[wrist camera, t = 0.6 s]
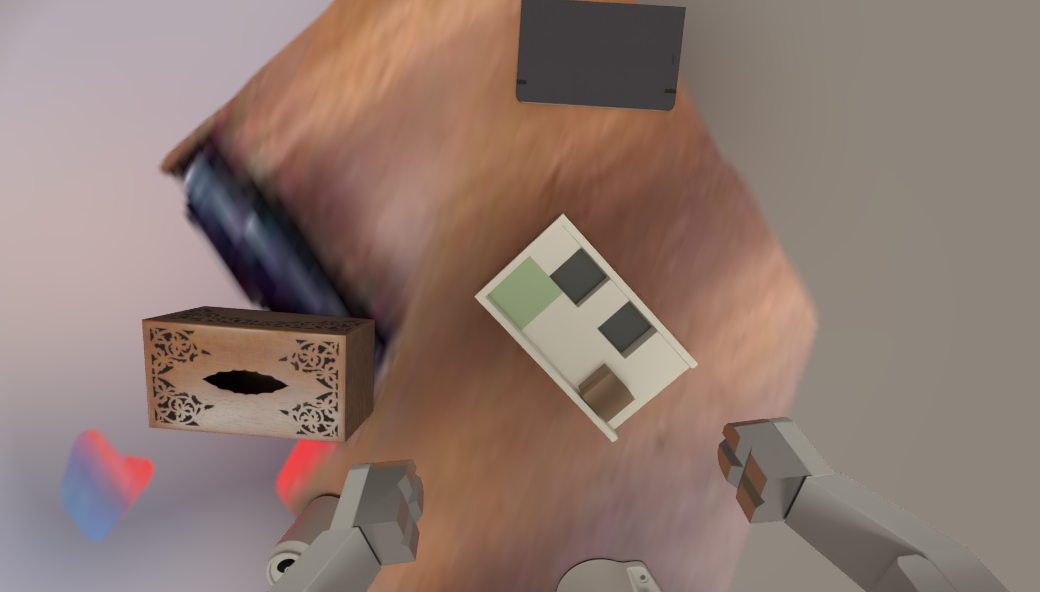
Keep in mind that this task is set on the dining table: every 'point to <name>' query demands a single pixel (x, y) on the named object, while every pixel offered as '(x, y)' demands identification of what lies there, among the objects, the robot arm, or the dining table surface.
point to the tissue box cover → (259, 373)
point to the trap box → (583, 320)
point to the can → (301, 536)
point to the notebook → (599, 54)
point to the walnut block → (605, 393)
